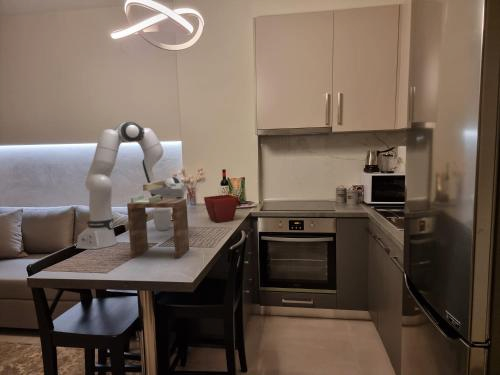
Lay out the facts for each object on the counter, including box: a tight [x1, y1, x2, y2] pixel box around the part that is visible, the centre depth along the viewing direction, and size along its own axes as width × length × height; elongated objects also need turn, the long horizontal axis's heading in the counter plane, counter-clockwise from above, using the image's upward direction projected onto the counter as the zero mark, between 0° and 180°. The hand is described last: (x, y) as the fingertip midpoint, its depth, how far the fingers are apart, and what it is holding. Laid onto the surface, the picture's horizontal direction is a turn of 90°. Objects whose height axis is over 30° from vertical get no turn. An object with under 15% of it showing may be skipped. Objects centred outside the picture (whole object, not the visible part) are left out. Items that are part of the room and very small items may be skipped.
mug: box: [152, 208, 173, 232], centre depth 224 cm, size 15×11×13 cm
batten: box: [142, 179, 167, 192], centre depth 179 cm, size 3×22×3 cm, turn 171°
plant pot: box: [203, 194, 239, 224], centre depth 245 cm, size 19×19×17 cm
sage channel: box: [130, 194, 161, 203], centre depth 168 cm, size 10×11×2 cm
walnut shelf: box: [126, 198, 190, 260], centre depth 168 cm, size 24×14×26 cm, turn 81°
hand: (160, 182), depth 186 cm, fingers closed on batten, 3 cm apart
